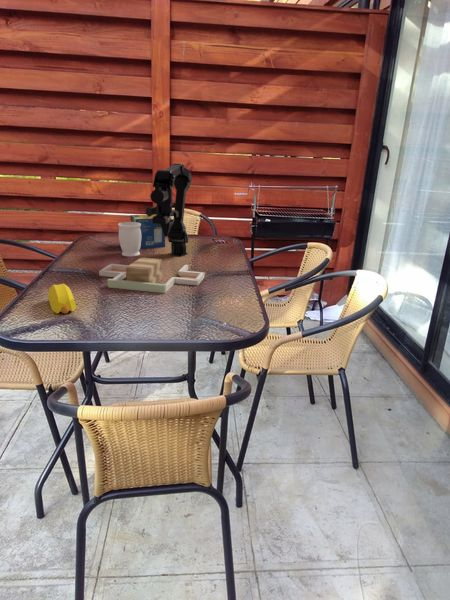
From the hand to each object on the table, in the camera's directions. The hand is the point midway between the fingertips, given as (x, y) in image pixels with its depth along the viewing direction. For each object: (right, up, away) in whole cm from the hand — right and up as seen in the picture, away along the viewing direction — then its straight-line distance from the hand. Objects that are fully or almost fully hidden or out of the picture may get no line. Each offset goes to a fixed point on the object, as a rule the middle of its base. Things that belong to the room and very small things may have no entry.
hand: (165, 236), depth 198 cm
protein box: (-14, 0, +35) cm, 37 cm away
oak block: (-6, -21, -18) cm, 29 cm away
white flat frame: (-4, -19, -13) cm, 24 cm away
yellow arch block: (-30, -31, -44) cm, 62 cm away
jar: (-19, -7, +18) cm, 27 cm away
